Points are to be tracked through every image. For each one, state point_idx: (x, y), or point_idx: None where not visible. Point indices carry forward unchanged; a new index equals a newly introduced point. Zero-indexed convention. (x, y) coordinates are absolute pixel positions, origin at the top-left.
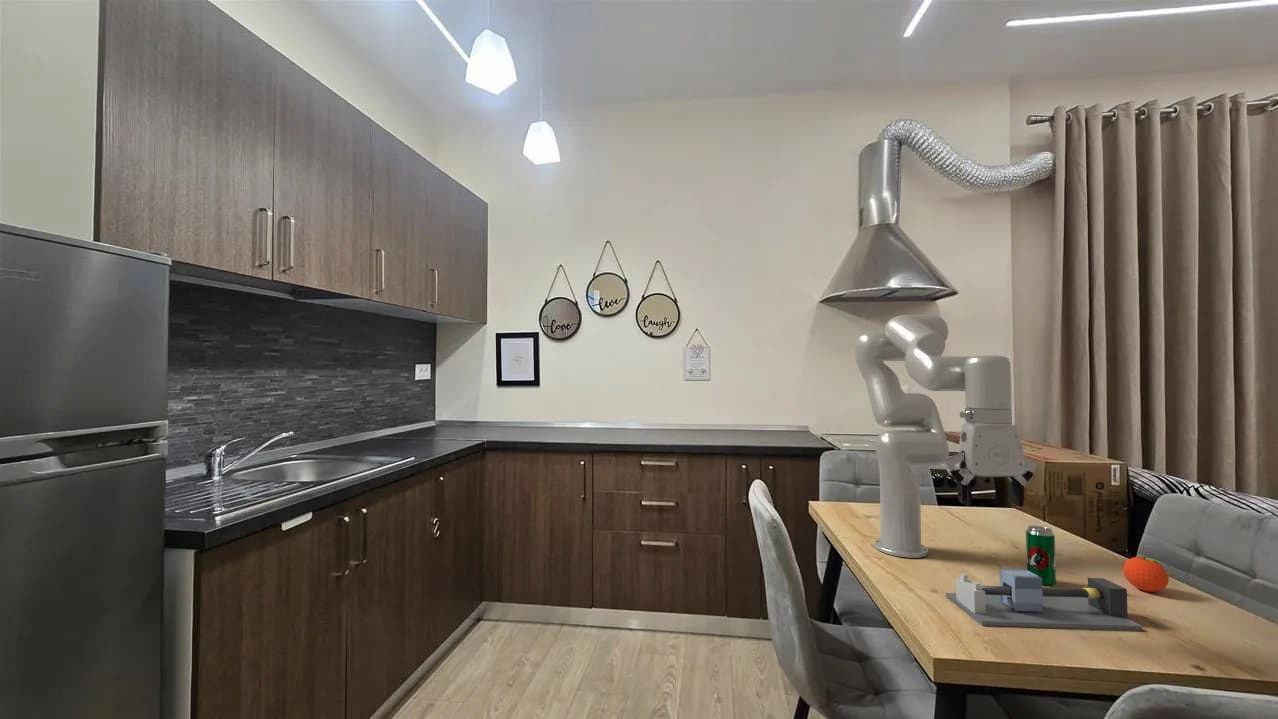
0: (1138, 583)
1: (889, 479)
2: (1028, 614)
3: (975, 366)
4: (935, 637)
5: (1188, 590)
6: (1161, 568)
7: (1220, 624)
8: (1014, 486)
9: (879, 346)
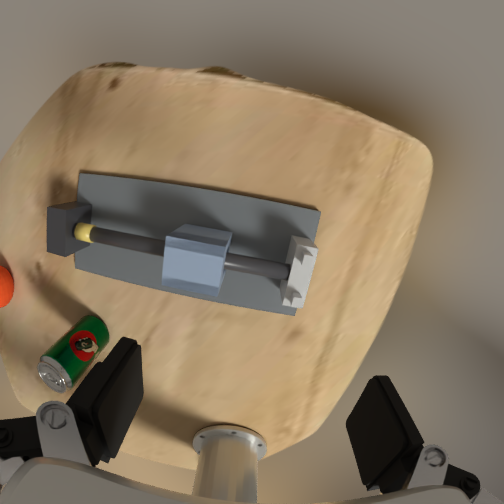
0: (9, 279)
1: None
2: (215, 222)
3: None
4: (412, 192)
5: None
6: None
7: (6, 191)
8: (107, 430)
9: None
